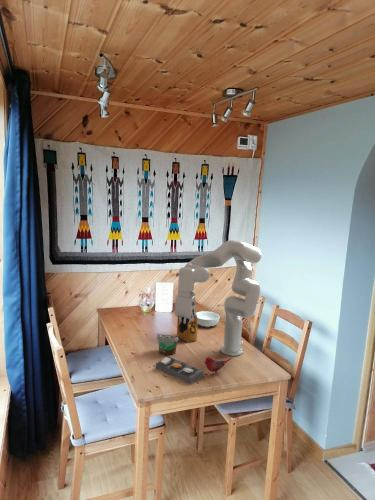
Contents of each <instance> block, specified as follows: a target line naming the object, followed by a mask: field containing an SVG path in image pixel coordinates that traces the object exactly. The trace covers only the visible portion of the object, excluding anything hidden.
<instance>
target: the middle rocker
mask: <svg viewBox="0 0 375 500" xmlns="http://www.w3.org/2000/svg"><path fill="white" fill-rule="evenodd" d="M172 366H174V367H176V368H179V367H182V365H180V364H178V363H175V364H172Z"/></svg>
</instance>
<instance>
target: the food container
mask: <svg viewBox="0 0 375 500" xmlns="http://www.w3.org/2000/svg"><path fill="white" fill-rule="evenodd" d="M156 339H157V340H158V341H157V342H158V353H159V354H160V355H162V356H166V357H171V356H174V355H176V352H177V348H178V341H179V340H180V339H179V337H178V336H176V337H175V336H171V335H168V334H160V332H158V334H157V336H156Z"/></svg>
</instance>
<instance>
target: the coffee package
mask: <svg viewBox="0 0 375 500" xmlns="http://www.w3.org/2000/svg"><path fill="white" fill-rule="evenodd" d="M176 322H177V323H176V324H177V325H176V337H178V338H180V339H181V340H183V341H185V342H186V343H192V342H196V341H198V329H199V328H198V325H199V324H198V323H197V315H196V316H195V317H194V321H189V322H188V327H187V330H186V331H181V330H180V324H181V322H180V321H179V318H178V317H177V320H176Z"/></svg>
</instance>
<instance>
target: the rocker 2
mask: <svg viewBox="0 0 375 500" xmlns="http://www.w3.org/2000/svg"><path fill="white" fill-rule="evenodd" d="M183 371H185V372H188V373H190V372H193V371H194V370H192V369H190V368H184V369H183Z"/></svg>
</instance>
